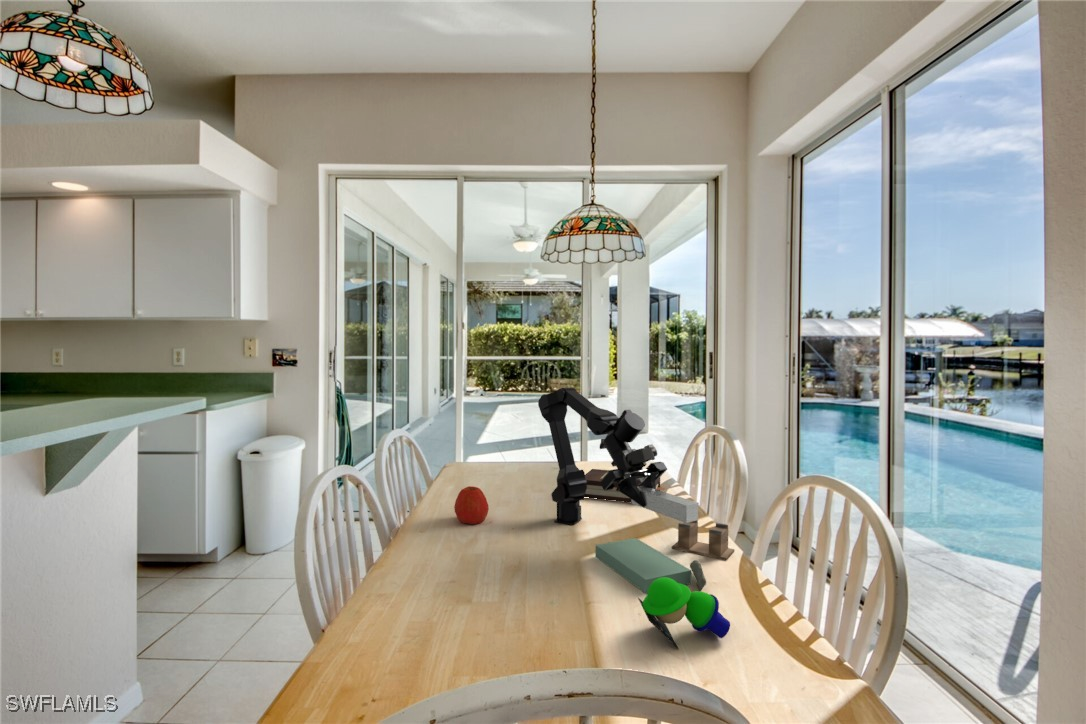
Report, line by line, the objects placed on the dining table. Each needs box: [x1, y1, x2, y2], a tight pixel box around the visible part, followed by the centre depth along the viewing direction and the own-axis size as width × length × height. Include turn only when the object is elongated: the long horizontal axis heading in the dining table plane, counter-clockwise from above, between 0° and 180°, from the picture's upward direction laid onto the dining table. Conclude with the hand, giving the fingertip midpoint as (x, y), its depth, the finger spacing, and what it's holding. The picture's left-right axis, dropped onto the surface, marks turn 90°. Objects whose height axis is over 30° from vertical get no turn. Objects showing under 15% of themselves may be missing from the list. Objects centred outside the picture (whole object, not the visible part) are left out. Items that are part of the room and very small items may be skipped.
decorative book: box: [585, 468, 666, 503], centre depth 194 cm, size 19×8×30 cm
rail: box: [630, 486, 700, 523], centre depth 133 cm, size 18×4×4 cm, turn 34°
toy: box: [637, 577, 731, 650], centre depth 101 cm, size 10×11×15 cm
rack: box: [671, 519, 735, 561], centre depth 142 cm, size 14×7×7 cm, turn 56°
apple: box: [453, 485, 489, 525], centre depth 165 cm, size 10×10×10 cm
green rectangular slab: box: [595, 537, 692, 594], centre depth 130 cm, size 22×12×3 cm, turn 24°
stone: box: [689, 559, 707, 592], centre depth 124 cm, size 13×2×5 cm, turn 177°
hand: (650, 504), depth 137 cm, fingers closed on rail, 4 cm apart
